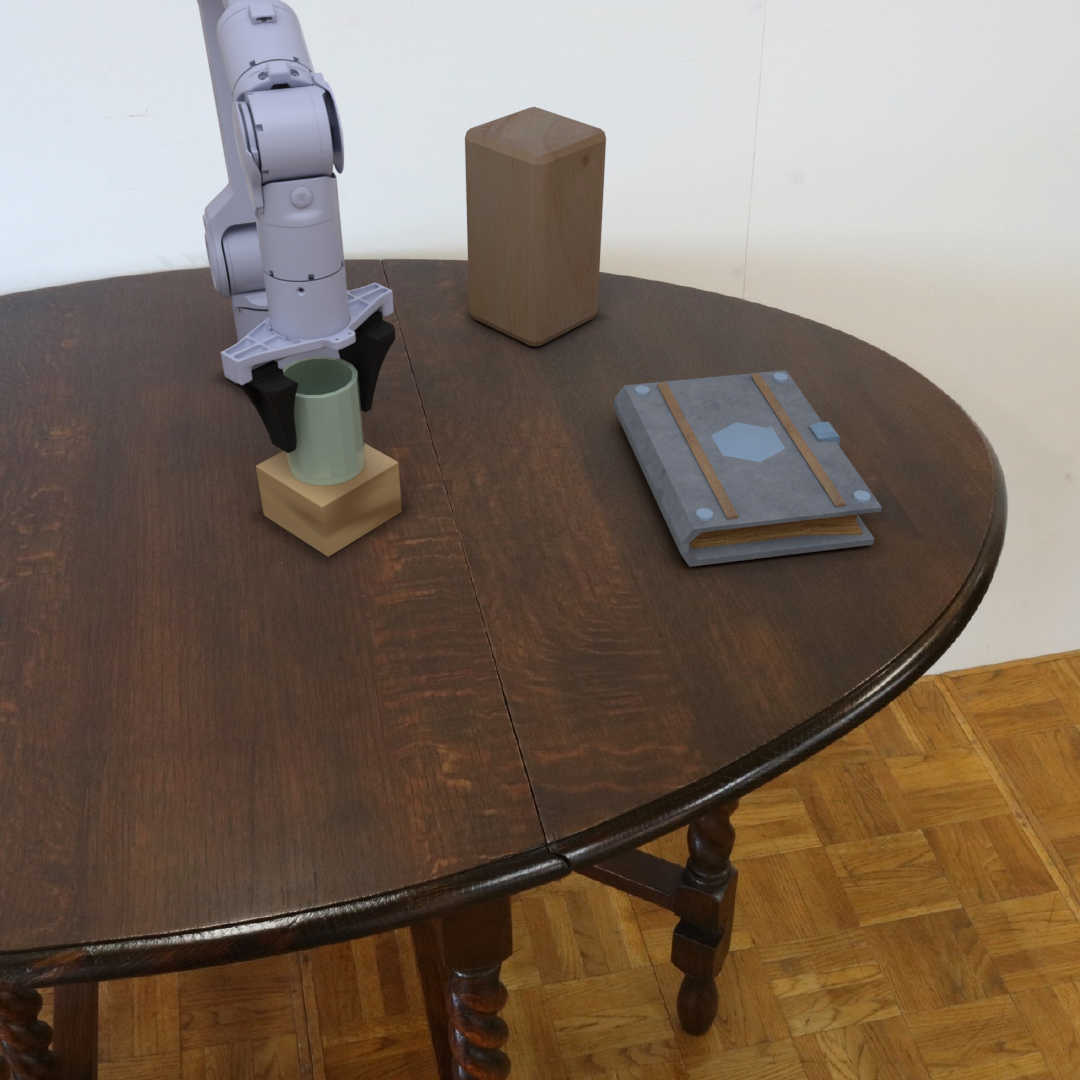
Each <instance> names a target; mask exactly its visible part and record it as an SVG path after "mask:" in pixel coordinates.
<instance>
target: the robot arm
mask: <svg viewBox="0 0 1080 1080" xmlns="http://www.w3.org/2000/svg"><path fill="white" fill-rule="evenodd" d="M196 3H197V6H198V11H199V17H200V23H201V29H202V35H203V41H204V46H205V50H206V51H205V53H206V57H207V64H208V71H209V75H210V80H211V81H210V82H211V87H212V93H213V97H214V98H213V99H214V105H215V110H216V116H217V121H218V128H219V133H220V138H221V146H222V151H223V157H224V163H225V168H226V169H225V170H226V174H227V181H228V182H227V184H226V186H225V187H223V189H221V191H219V193H217V195H215V197H214V198H213V199H212V200H211V201H210V202H209V203H207V205H206V206H205V208H204V214H203V215H202V222H203V227H204V243H205V249H206V255H207V260H208V266H209V270H210V275H211V279H212V283H213V287H214V291H215V292H216V293H217V294H218V295H220V296H221V298H223V299H227V298H230V301H231V302H230V303H231V307H232V313H233V320H234V326H235V332H236V339H237V342H236V343H234V344H233V345H231V346H229V347H228V348H226V349H224V350H222V351H220V358H221V364H222V369H223V374H224V377H225V378H226V379H228V380H229V381H231V382H233V383H234V384H236V385H238V386H239V388H240V389H241V390H242V391H243V392H244V394H245V395H246V397H247V398H248V399H249V401H250V402H251V404H252V405H253V407H254V408H255V410H256V412H257V414H258V415H259V417H260V419H261V421H262V423H263V425H264V427H265V429H266V432H267V434H268V437H269V440H270V442H271V444H272V445H273V446H275V447H277V448H278V449H280V450H281V451H282V452H283V451H285V452H287V453H291V452H292V451H294V450H296V442H297V439H296V430H295V421H294V405H295V397H296V392H297V388H298V385H299V383H297V382H295V381H293V380H292V379H290V378H288V377H286V376H284V374H283V369H282V368H283V367H284V366H286V365H288V364H290V363H292V362H294V361H296V360H299V359H303V358H308V357H313V356H329V357H335V358H340V359H343V360H345V361H347V362H349V363H351V364H352V365H353V366H354V367H355V369H356V370H357V372H358V381H359V392H360V402H361V412H362V413H363V412H364V413H367V412H370V411H371V410H372V406H373V402H374V396H375V391H376V388H377V384H378V383H377V382H378V379H379V375H380V371H381V368H382V366H383V363H384V361H385V358H386V357H387V354H388V352H389V350H390V348H391V346H392V345H393V344H394V342H395V340H396V327H395V325H394V324H392V323H390V322H388V321H386V320H384V319H383V318H384V317H388V316H390V315H391V314H393V313H395V310H394V309H395V306H394V296H393V295H394V293H393V292H394V291H393V289H390V288H388V287H386V286H384V285H381V284H380V283H377V282H373V283H370V284H367V285H365V286H361V287H358V288H354V289H349V290H348V283H347V273H346V262H345V253H344V242H343V232H342V220H341V210H340V199H339V198H340V197H339V189H338V178H337V175H336V174H335V172H334V171H333V170H334V168H335V170H336V172H337V173H338V174H339V175H341V174H343V172H344V168H345V139H344V131H343V130H344V129H343V125H342V119H341V115H340V112H339V108H338V104H337V102H336V98H335V95H334V92H333V89H332V87H331V86H330V83H329V82H328V81H326V80H325V78H324V75H323V73H322V72H315V68H314V65H313V62H312V58H311V54H310V52H309V48H308V45H307V41H306V38H305V34H304V31H303V29H302V25H301V22H300V21H301V20H300V18H299V16H298V14H297V13H296V12H295V10H294V9H293V8H292V7H291V6H290V5H289V4H287V3H286V2H285V1H283V0H196Z"/></svg>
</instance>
